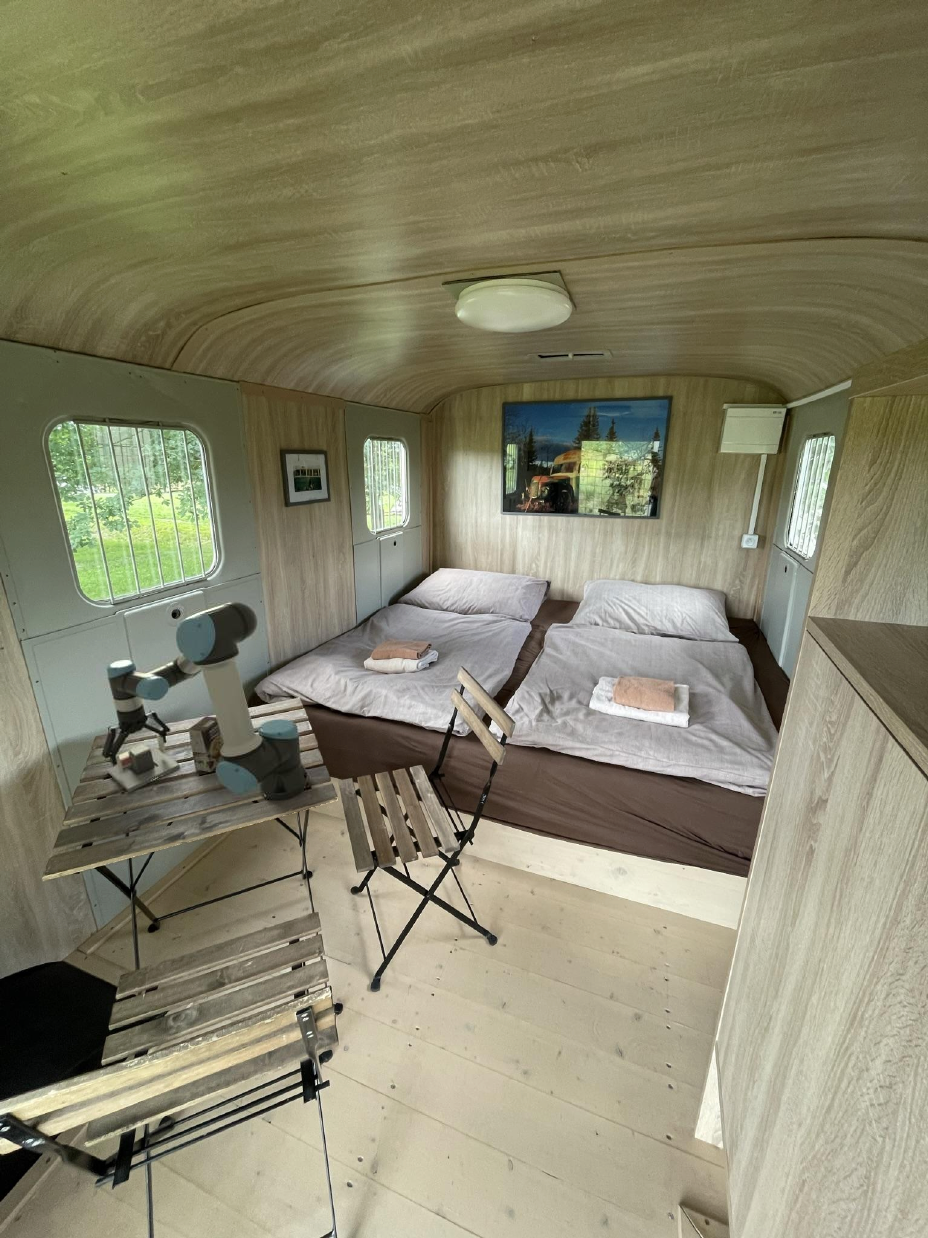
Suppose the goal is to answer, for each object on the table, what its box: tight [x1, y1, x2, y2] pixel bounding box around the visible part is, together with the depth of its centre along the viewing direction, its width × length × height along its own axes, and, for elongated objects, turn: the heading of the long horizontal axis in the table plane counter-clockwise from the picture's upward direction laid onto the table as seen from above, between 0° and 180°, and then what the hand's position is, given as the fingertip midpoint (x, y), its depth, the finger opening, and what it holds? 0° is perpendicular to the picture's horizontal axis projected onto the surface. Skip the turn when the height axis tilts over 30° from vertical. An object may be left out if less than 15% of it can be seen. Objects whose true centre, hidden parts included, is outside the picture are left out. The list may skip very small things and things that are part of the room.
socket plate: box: [106, 747, 181, 793], centre depth 171 cm, size 16×16×1 cm
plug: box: [128, 743, 155, 775], centre depth 169 cm, size 5×5×8 cm
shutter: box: [118, 746, 151, 768], centre depth 174 cm, size 8×9×3 cm
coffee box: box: [188, 715, 224, 773], centre depth 173 cm, size 9×6×16 cm
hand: (142, 761), depth 170 cm, fingers open, 13 cm apart
